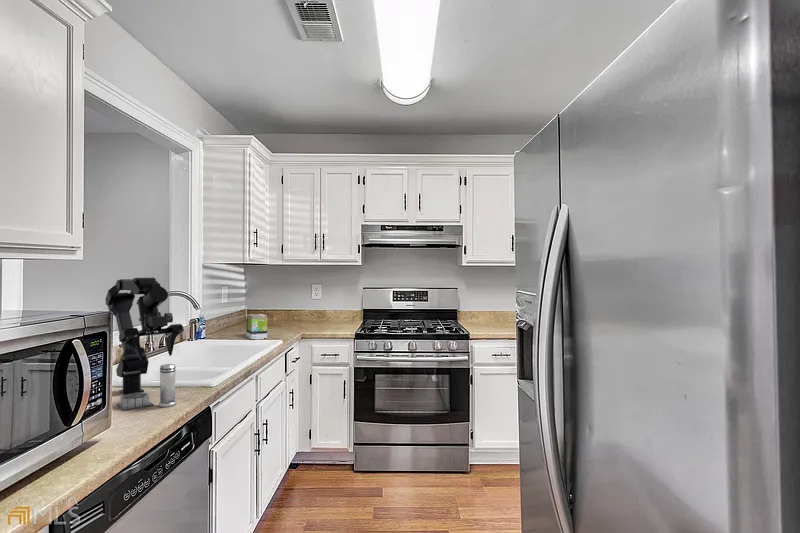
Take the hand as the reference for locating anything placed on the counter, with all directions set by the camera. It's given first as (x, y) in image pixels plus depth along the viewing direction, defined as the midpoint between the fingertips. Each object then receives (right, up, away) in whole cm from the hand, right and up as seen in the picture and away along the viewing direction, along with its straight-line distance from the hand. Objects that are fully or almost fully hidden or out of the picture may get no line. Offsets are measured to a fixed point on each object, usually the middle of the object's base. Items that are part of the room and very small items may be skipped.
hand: (156, 357), depth 158 cm
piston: (+5, -15, -2) cm, 16 cm away
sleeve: (-6, -15, -2) cm, 16 cm away
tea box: (-10, -15, +146) cm, 147 cm away
